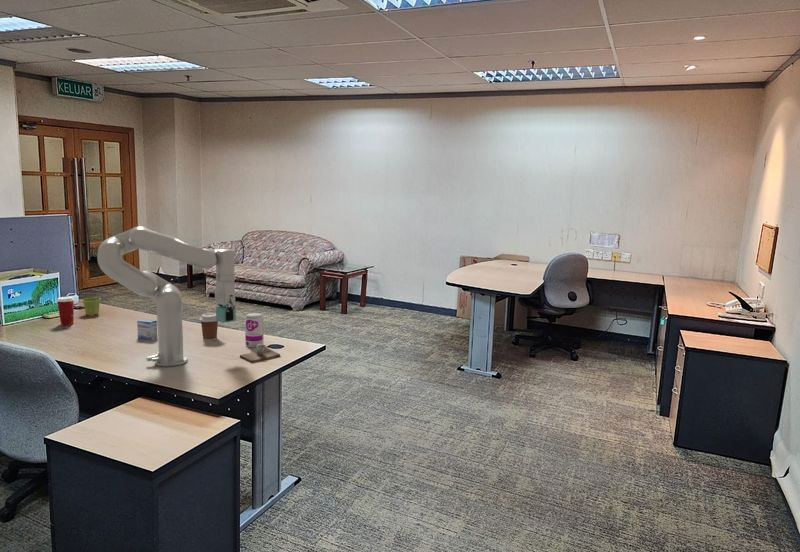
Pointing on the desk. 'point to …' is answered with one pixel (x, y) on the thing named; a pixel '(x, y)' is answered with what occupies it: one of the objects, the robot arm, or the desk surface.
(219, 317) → the teal cube
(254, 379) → the desk surface
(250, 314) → the supplement can
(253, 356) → the post board
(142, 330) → the medicine box
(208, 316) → the coffee cup
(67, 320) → the paper cup
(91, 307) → the plant pot
